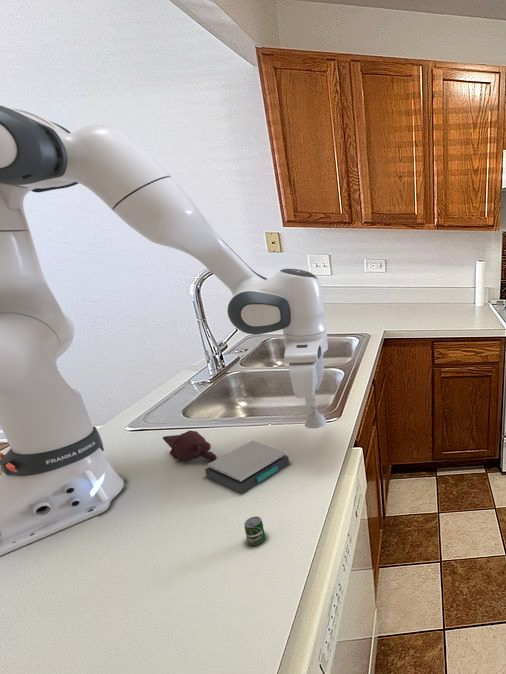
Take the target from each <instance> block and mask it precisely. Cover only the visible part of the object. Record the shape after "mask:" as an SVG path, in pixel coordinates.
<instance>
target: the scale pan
mask: <svg viewBox="0 0 506 674" xmlns="http://www.w3.org/2000/svg"><path fill="white" fill-rule="evenodd" d="M284 455H285V452H284V451H282V450H279V449H276V448H273V447H271V446H269V445H266V444H263V443H260V442H257V441H256V440H251V441H249V442H247V443H245V444H244V445H241V446H239V447H237V448H236V449H233V450H232V451H230V452H228V453H226V454H224V455H222V456H220V457H218V458H216V460H214V461H210V462H209V463H207V468H208V467H209V468H211V469H213V470H216V471H218V472H220V473H222V474H225V475H227V476H229V477H231V478H233V479H236V480H238V481H240V482H241V481H243V480H244V479H246V478H248V477H249V476H251V475H253V474H254V473H256V472H258V471H259V470H261V469H263V468H264V467H266V466H268V465H269V464H271V463H273V462H274V461H276V460H278V459H279V458H281V457H283V456H284Z"/></svg>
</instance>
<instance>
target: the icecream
mask: <svg viewBox="0 0 506 674" xmlns="http://www.w3.org/2000/svg"><path fill="white" fill-rule="evenodd" d="M162 440H163V441H164V442H165V443H166V444H167V446H169V448H171V449H170V451H169V455H170V456H172V459H176V460H180V461H182V460H184V461H189V460H194V459H198V458H199V457H200V456H201V457H202V458H203V459H205V460H207V461H210V462H213V461H214V460H216V459H217V455H216V454H215V453H213V452H212V451H210V450H211V448H212V446H211V443H210V442H208V441H206V438H205V437H204V436H202V435H201V434H200V433H199V432H198V431H196V430H188V431H186V432H184V433H180V434H175V435H165V436H162Z"/></svg>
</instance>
